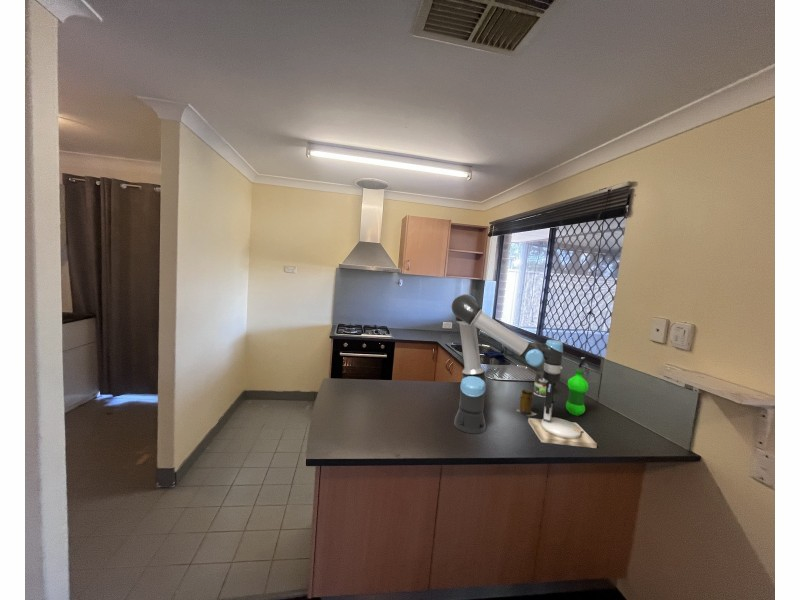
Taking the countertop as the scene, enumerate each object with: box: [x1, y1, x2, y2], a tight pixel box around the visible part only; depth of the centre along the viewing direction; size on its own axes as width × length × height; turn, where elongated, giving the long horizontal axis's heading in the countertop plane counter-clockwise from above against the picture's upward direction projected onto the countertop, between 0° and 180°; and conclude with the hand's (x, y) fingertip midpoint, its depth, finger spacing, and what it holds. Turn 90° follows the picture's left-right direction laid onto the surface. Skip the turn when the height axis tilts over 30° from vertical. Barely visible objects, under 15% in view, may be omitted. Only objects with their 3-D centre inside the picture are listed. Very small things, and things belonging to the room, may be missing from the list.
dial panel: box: [527, 417, 598, 449], centre depth 151 cm, size 24×20×2 cm
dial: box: [541, 403, 581, 439], centre depth 151 cm, size 17×17×11 cm
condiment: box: [515, 389, 537, 417], centre depth 173 cm, size 7×8×12 cm
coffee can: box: [532, 370, 548, 398], centre depth 202 cm, size 10×10×14 cm
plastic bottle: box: [565, 368, 589, 417], centre depth 175 cm, size 10×10×25 cm
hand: (547, 417), depth 155 cm, fingers open, 4 cm apart
